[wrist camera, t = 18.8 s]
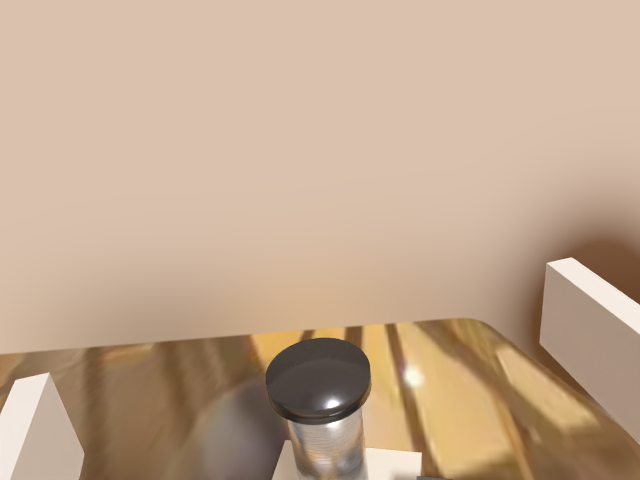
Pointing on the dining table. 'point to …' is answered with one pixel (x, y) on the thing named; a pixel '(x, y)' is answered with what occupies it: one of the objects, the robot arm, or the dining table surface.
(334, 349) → the flanged shaft
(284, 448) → the pad
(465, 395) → the dining table surface
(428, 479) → the housing
